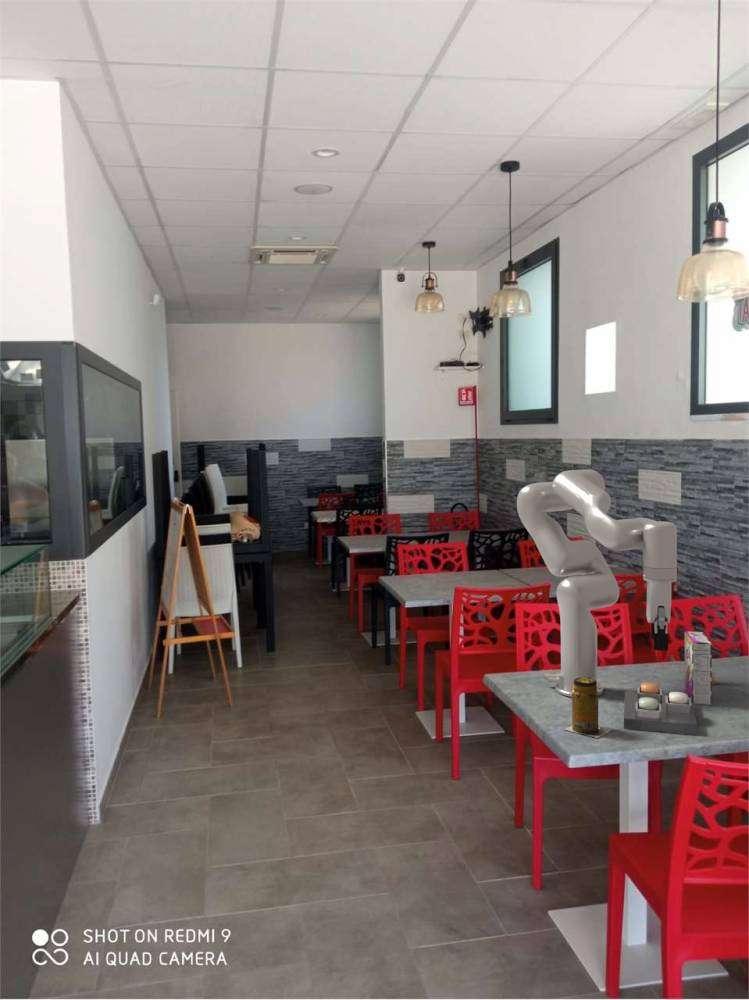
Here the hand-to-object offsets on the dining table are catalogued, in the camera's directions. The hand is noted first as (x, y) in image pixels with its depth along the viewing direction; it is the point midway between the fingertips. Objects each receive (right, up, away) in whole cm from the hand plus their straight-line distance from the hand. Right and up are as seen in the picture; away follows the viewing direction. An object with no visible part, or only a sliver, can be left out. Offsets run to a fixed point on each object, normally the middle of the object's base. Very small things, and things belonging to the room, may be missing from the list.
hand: (659, 644), depth 186 cm
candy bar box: (+17, -18, +19) cm, 31 cm away
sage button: (-3, -15, 0) cm, 16 cm away
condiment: (-17, -20, -2) cm, 27 cm away
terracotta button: (+2, -14, +12) cm, 19 cm away
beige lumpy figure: (+23, -16, +31) cm, 42 cm away
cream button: (+6, -15, +4) cm, 16 cm away
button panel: (+2, -19, +6) cm, 20 cm away
